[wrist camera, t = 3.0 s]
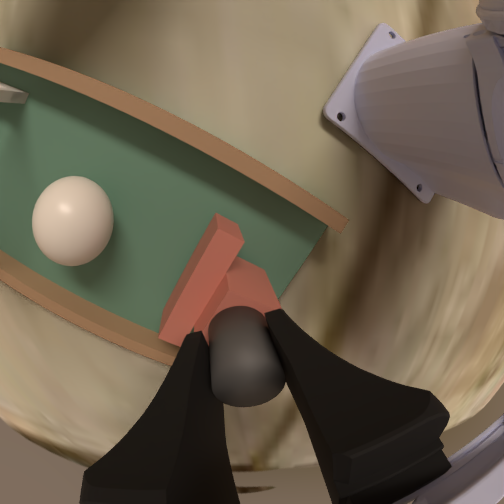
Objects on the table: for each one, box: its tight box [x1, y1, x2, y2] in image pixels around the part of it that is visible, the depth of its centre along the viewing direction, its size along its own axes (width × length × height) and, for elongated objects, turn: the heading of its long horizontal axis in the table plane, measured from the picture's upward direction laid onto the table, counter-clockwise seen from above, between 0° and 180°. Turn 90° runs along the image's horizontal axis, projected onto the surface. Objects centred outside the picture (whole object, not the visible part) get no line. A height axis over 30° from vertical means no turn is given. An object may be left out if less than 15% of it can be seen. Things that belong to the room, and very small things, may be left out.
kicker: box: [158, 213, 286, 407], centre depth 11 cm, size 4×6×7 cm, turn 149°
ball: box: [32, 176, 114, 266], centre depth 11 cm, size 4×4×4 cm
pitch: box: [0, 47, 349, 366], centre depth 12 cm, size 24×12×2 cm, turn 59°
